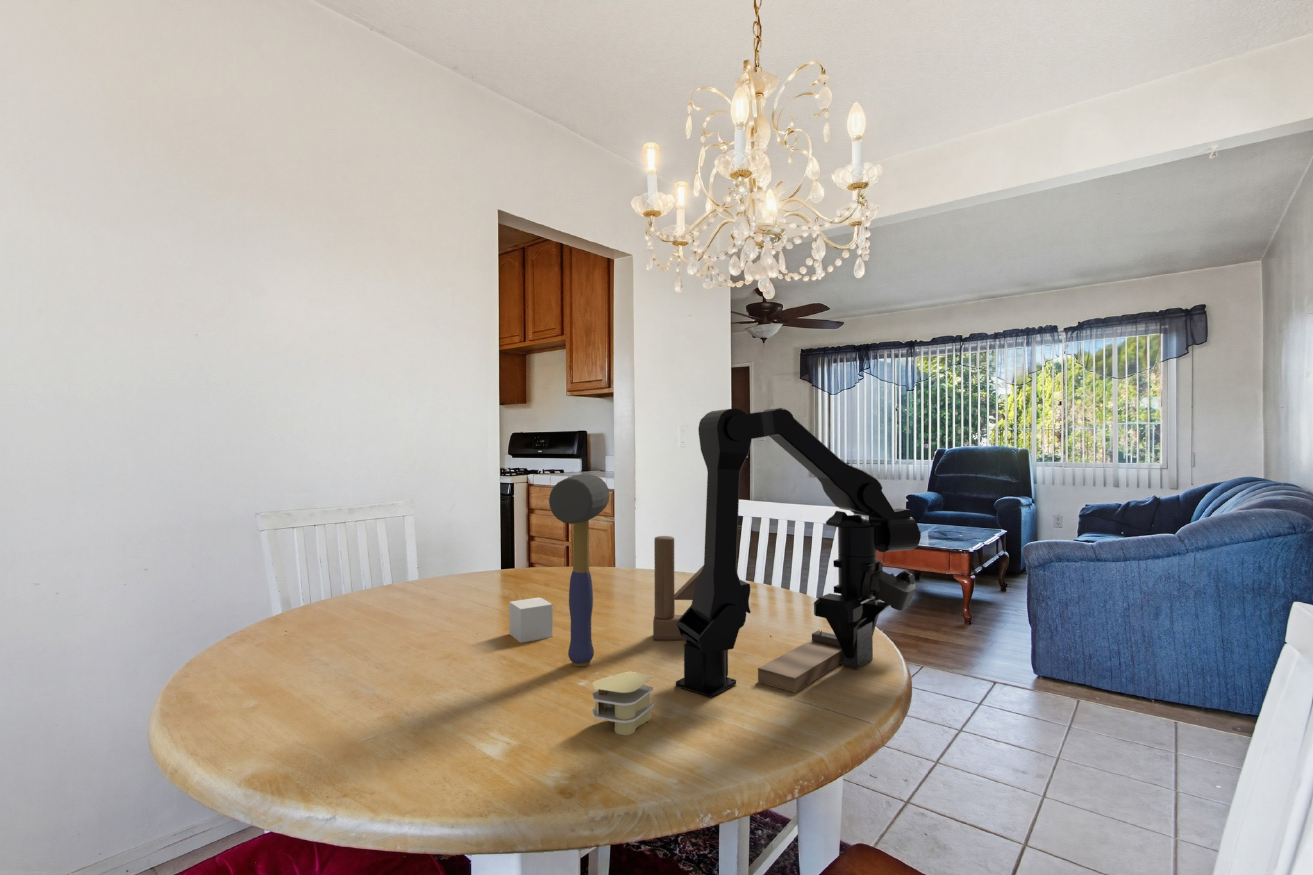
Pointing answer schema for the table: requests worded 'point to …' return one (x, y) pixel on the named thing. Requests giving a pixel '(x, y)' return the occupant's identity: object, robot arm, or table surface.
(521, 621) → the grey cube
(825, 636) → the marking gauge
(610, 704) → the toy house
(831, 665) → the walnut board
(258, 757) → the table surface
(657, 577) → the brown post on base
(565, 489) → the rubber mallet
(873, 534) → the robot arm
